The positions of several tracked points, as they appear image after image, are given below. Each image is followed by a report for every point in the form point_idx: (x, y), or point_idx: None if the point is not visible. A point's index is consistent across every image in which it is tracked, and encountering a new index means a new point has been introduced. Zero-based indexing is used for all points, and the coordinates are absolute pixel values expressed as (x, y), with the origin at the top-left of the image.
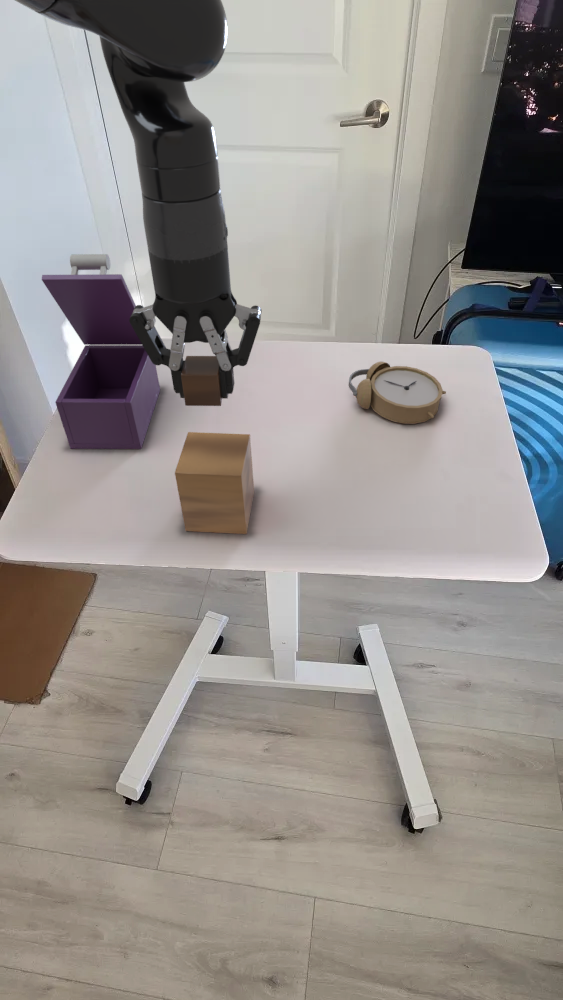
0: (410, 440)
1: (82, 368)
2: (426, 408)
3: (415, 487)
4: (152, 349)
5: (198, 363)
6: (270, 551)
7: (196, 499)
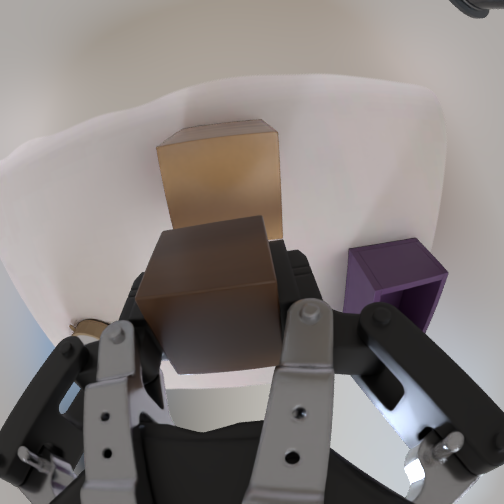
0: (77, 301)
1: (419, 326)
2: (73, 333)
3: (49, 243)
4: (411, 354)
5: (231, 343)
6: (146, 110)
7: (242, 127)
